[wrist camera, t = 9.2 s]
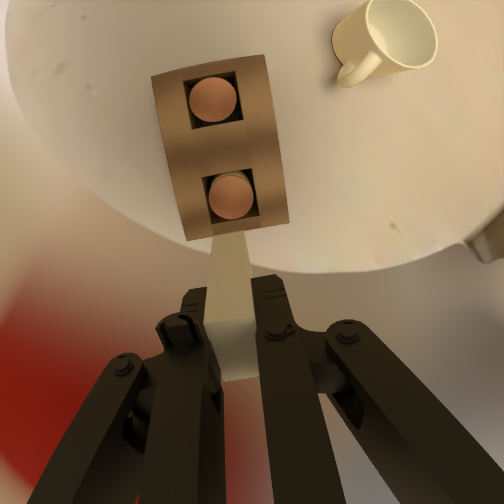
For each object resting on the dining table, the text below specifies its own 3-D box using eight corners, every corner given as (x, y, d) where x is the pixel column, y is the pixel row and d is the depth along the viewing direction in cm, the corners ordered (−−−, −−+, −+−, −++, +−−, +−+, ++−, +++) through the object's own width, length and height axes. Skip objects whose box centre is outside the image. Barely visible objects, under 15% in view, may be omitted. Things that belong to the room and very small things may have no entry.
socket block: (168, 85, 29) (150, 76, 22) (256, 69, 29) (264, 54, 21) (195, 215, 36) (186, 241, 28) (277, 200, 36) (289, 222, 28)
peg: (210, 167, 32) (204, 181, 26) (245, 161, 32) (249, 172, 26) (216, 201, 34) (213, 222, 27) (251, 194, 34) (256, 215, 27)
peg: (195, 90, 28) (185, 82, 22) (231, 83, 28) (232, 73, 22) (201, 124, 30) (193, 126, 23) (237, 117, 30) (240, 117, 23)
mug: (352, 111, 31) (395, 112, 22) (298, 67, 29) (325, 48, 20) (400, 50, 28) (449, 38, 18) (352, 7, 25) (391, -21, 16)
